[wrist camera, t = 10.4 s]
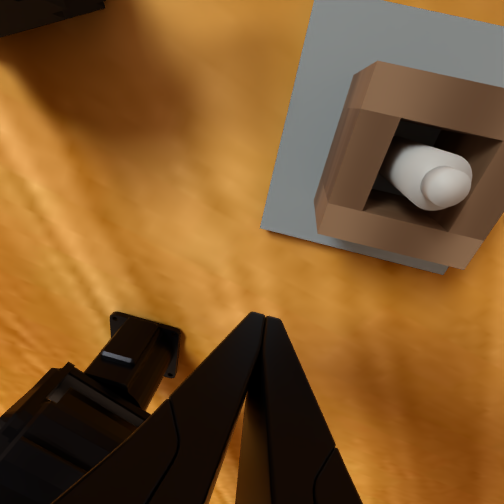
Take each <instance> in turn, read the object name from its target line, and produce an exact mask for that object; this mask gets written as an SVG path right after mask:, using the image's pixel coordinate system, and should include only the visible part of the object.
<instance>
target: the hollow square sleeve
mask: <svg viewBox="0 0 504 504" xmlns="http://www.w3.org/2000/svg"><path fill="white" fill-rule="evenodd" d="M400 121H404V122H409V123H413V124H418V125H422V126H426V127H431V128H435V129H440V130H441V131H440V133H439V135H438V138H437V140H436V142H435V144H434V146H433V147H434V148H437V149H440V150H443V151H447V152H450V153H453V154H456V155H459V156H461V157H463V158H464V159H465V160H466V161H467V162H468V163H469V164H470V167H471V169H472V181H471V188H470V191H469V193H468V195H467V196H466V197H465V199H463V200H462V201H461V202H460V203H458V204H456V205H454V206H450V207H447V208H445V209H441V210H435V211H430V210H424V209H421V208H419V207H417V206H416V205H415V204H414V203H412V202H411V201H410V200H409V199H408V198H407V197H405V196H401V195H396V194H392V193H388V192H384V191H380V190H375V189H372V186H373V184H374V182H375V179H376V177H377V174H378V172H379V170H380V167H381V165H382V162H383V160H384V158H385V155H386V153H387V150H388V148H389V146H390V143H391V141H392V138H393V136H394V134H395V131H396V129H397V126H398V124H399V122H400ZM314 208H315V217H316V225H317V234H321V235H325V236H329V237H333V238H337V239H341V240H345V241H349V242H353V243H357V244H361V245H365V246H369V247H373V248H377V249H381V250H385V251H389V252H393V253H397V254H401V255H406V256H410V257H414V258H418V259H422V260H426V261H430V262H434V263H438V264H442V265H446V266H450V267H454V268H458V269H462V270H464V269H465V268H466V266H467V265H468V263H469V262H470V260H471V259H472V258H473V256H474V255H475V253H476V252H477V250H478V249H479V247H480V246H481V244H482V243H483V241H484V240H485V239H486V237H487V236H488V234H489V233H490V231H491V230H492V228H493V227H494V225H495V224H496V222H497V221H498V219H499V218H500V217H501V215H502V214H503V212H504V88H502V87H498V86H493V85H488V84H484V83H479V82H475V81H470V80H465V79H461V78H456V77H451V76H447V75H442V74H437V73H433V72H428V71H424V70H419V69H414V68H410V67H405V66H400V65H396V64H391V63H387V62H382V61H376V62H374V63H373V64H371V65H369V66H368V67H366V68H364V69H363V70H361V71H359V72H358V73H356V74H354V75H353V78H352V81H351V84H350V88H349V91H348V94H347V97H346V100H345V103H344V106H343V110H342V113H341V116H340V119H339V122H338V125H337V128H336V132H335V135H334V138H333V141H332V144H331V147H330V150H329V154H328V157H327V160H326V163H325V166H324V169H323V172H322V176H321V179H320V182H319V185H318V188H317V191H316V194H315V198H314Z"/></svg>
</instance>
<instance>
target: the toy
mask: <svg viewBox="0 0 504 504" xmlns="http://www.w3.org/2000/svg"><path fill="white" fill-rule="evenodd" d="M103 1H106V0H0V37H4V36H7V35H11V34H15V33H18V32H22V31H25V30H29V29H32V28H36V27H40V26H43V25H47V24H50V23H54V22H57V21H61V20H65V19H68V18H72V17H75V16H79V15H82V14H86V13H90V12H93V11H97V10H100V9H104V8H105V5H104V2H103Z"/></svg>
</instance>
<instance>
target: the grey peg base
mask: <svg viewBox="0 0 504 504" xmlns="http://www.w3.org/2000/svg"><path fill="white" fill-rule="evenodd" d="M376 61H382V62H387V63H391V64H396V65H400V66H405V67H410V68H414V69H419V70H424V71H428V72H433V73H437V74H442V75H447V76H451V77H456V78H461V79H465V80H470V81H475V82H479V83H484V84H488V85H493V86H498V87H502V88H504V26H499V25H494V24H490V23H485V22H481V21H476V20H471V19H467V18H462V17H457V16H453V15H448V14H443V13H439V12H434V11H429V10H425V9H420V8H415V7H411V6H406V5H401V4H397V3H392V2H387V1H383V0H314V4H313V8H312V12H311V16H310V21H309V25H308V29H307V33H306V37H305V41H304V46H303V50H302V54H301V58H300V62H299V67H298V71H297V75H296V79H295V83H294V88H293V92H292V96H291V100H290V104H289V108H288V113H287V117H286V121H285V125H284V129H283V134H282V138H281V142H280V146H279V150H278V154H277V159H276V163H275V167H274V171H273V175H272V180H271V184H270V188H269V192H268V196H267V200H266V205H265V209H264V213H263V217H262V221H261V226H260V228H262V229H265V230H269V231H273V232H277V233H281V234H285V235H289V236H293V237H297V238H301V239H305V240H308V241H312V242H316V243H320V244H324V245H328V246H332V247H336V248H340V249H344V250H347V251H351V252H355V253H359V254H363V255H367V256H371V257H375V258H379V259H383V260H387V261H390V262H394V263H398V264H402V265H406V266H410V267H414V268H418V269H422V270H426V271H430V272H433V273H437V274H441V275H444V273H445V272H446V270H447V269H448V267H449V266H446V265H442V264H438V263H434V262H430V261H426V260H422V259H418V258H414V257H410V256H406V255H401V254H397V253H393V252H389V251H385V250H381V249H377V248H373V247H369V246H365V245H361V244H357V243H353V242H349V241H345V240H341V239H337V238H333V237H329V236H325V235H321V234H317V225H316V217H315V208H314V198H315V194H316V191H317V188H318V185H319V182H320V179H321V176H322V172H323V169H324V166H325V163H326V160H327V157H328V154H329V150H330V147H331V144H332V141H333V138H334V135H335V132H336V128H337V125H338V122H339V119H340V116H341V113H342V110H343V106H344V103H345V100H346V97H347V94H348V91H349V88H350V84H351V81H352V78H353V75H354V74H356V73H358V72H359V71H361V70H363V69H364V68H366V67H368V66H369V65H371V64H373V63H374V62H376ZM440 131H441V130H440V129H435V128H431V127H426V126H422V125H418V124H413V123H409V122H404V121H400V122H399V124H398V126H397V129H396V131H395V134H394V136H393V138H392V141H391V143H390V146H389V148H388V150H387V153H386V155H385V158H384V160H383V162H382V165H381V167H380V170H379V172H378V174H377V177H376V179H375V182H374V184H373V186H372V189H375V190H380V191H384V192H388V193H392V194H396V195H401V196H405V197H407V198H408V199H409V200H410V201H411V202H412V203H414V204H415V205H416V206H417V207H419V208H421V209H424V210H430V211H435V210H441V209H445V208H447V207H450V206H454V205H456V204H458V203H460V202H461V201H462V200H463V199H465V197H466V196H467V195H468V193H469V191H470V188H471V181H472V169H471V167H470V164H469V163H468V162H467V161H466V160H465V159H464V158H463V157H461V156H459V155H456V154H453V153H450V152H447V151H443V150H440V149H437V148H434V147H433V146H434V144H435V142H436V140H437V138H438V135H439V133H440Z"/></svg>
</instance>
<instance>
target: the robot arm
mask: <svg viewBox="0 0 504 504" xmlns="http://www.w3.org/2000/svg"><path fill="white" fill-rule="evenodd" d="M110 330H111V339H110V340H109V342H108V343H107V344H106V345H105V346H104V348H103V349H102V350H101V352H100V353H99V354H98V356H97V357H96V358H95V359H94V360H93V362H92V363H91V364H90V365H89V367H88V368H87V369H86V370H85V371H84V373H83V372H82V371H80V370H78V369H77V368H75V367H74V366H75V365H73V364H72V363H70V362H68V363H67V364H66V365H65V366H64V367H63V368H62V369H61V368H60V369H58V368H51V369H50V370H49V371H48V372H47V373H46V374H45V375H44V376H43V377H42V378H41V379H40V380H39V382H38V383H37V384H36V385H35V386H34V387H33V388H32V389H30V390H29V391H28V392H27V393H26V394H25V395H24V396H23V397H22V398H21V399H19V400H18V401H17V402H16V403H15V404H14V405H13V406H12V407H11V408H9V409H8V410H7V411H6V412H5V413H4V414H3V415H2V416H1V417H0V504H209V501H210V498H211V495H212V493H213V490H214V487H215V484H216V481H217V478H218V475H219V472H220V470H221V467H222V464H223V461H224V458H225V455H226V452H227V449H228V447H229V444H230V441H231V438H232V435H233V432H234V429H235V426H236V423H237V421H238V418H239V415H240V412H241V409H242V406H243V403H244V400H245V397H246V401H245V409H244V419H243V430H242V440H241V450H240V460H239V470H238V480H237V490H236V500H235V504H363V503H362V501H361V499H360V496H359V494H358V492H357V490H356V488H355V486H354V484H353V481H352V479H351V477H350V475H349V473H348V471H347V468H346V466H345V464H344V462H343V459H342V457H341V455H340V452H339V450H338V448H335V446H336V444H335V441H334V439H333V437H332V435H331V432H330V430H329V428H328V425H327V423H326V421H325V419H324V416H323V414H322V412H321V409H320V407H319V405H318V403H317V400H316V398H315V396H314V394H313V391H312V389H311V387H310V384H309V382H308V380H307V378H306V375H305V373H304V371H303V368H302V366H301V364H300V362H299V359H298V357H297V355H296V353H295V350H294V348H293V346H292V343H291V341H290V339H289V337H288V334H287V332H286V330H285V328H284V325H283V323H282V321H281V320H280V319H279V318H275V317H271V316H266V317H265V315H264V314H260V313H257V312H250V313H249V314H248V315H247V316H246V317H245V318H244V319H243V320H242V321H241V322H240V323H239V324H238V325H237V326H236V327H235V328H234V329H233V330H232V332H231V333H230V334H229V335H228V336H227V337H226V338H225V339H224V340H223V341H222V342H221V343H220V344H219V345H218V346H217V347H216V348H215V349H214V350H213V351H212V352H211V353H210V354H209V356H208V357H207V358H206V359H205V360H204V361H203V362H202V363H201V364H200V365H199V366H198V367H197V368H196V369H195V370H194V371H193V372H192V373H191V374H190V375H189V376H188V377H187V378H186V379H185V381H184V382H183V383H182V384H181V385H180V386H179V387H178V388H177V389H176V390H175V391H174V392H173V393H172V394H171V395H170V396H169V399H166V400H165V401H164V402H163V403H162V404H161V405H160V406H159V407H158V408H157V409H156V410H155V412H154V413H153V414H152V415H151V414H149V413H148V412H146V409H147V407H148V405H149V403H150V402H151V400H152V398H153V396H154V394H155V392H156V390H157V388H158V386H159V384H160V382H161V380H162V378H163V376H165V377H168V378H174V377H175V375H176V373H177V364H178V355H179V345H180V336H181V332H180V330H179V329H177V328H174V327H171V326H167V325H163V324H160V323H156V322H153V321H149V320H145V319H142V318H138V317H134V316H131V315H127V314H124V313H120V312H113V313H112V314H111V315H110ZM174 333H175V334H174ZM246 394H247V395H246ZM50 400H51V401H50Z"/></svg>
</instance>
